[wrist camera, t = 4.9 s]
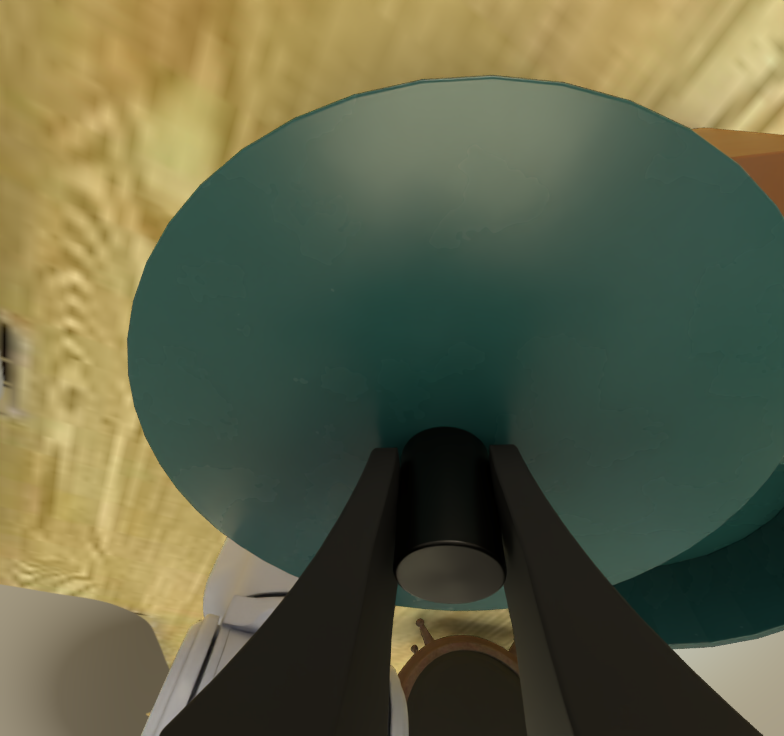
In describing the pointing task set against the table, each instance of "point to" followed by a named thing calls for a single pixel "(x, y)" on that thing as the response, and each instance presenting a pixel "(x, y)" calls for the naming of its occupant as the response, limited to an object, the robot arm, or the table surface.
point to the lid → (468, 329)
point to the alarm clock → (462, 688)
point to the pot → (720, 579)
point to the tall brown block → (754, 157)
